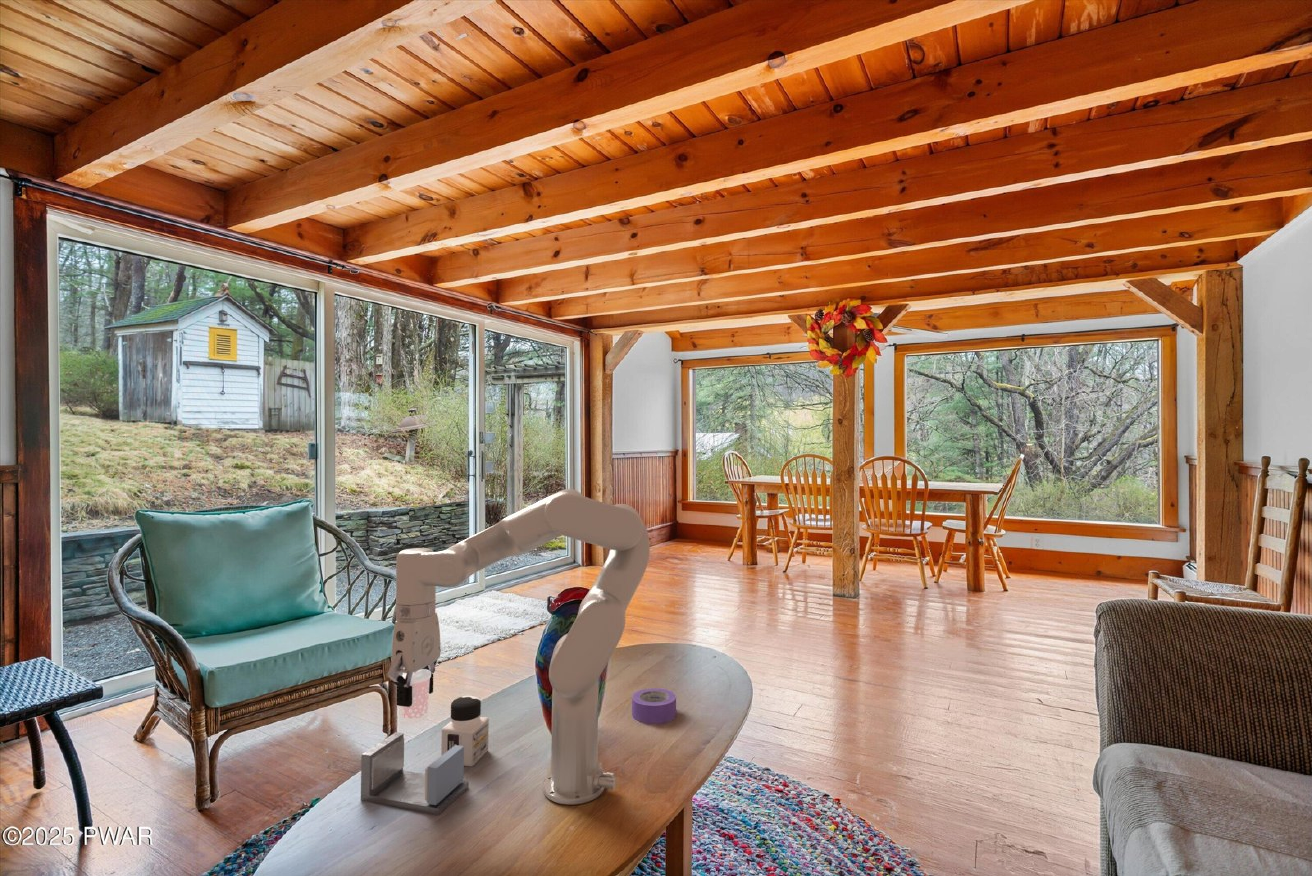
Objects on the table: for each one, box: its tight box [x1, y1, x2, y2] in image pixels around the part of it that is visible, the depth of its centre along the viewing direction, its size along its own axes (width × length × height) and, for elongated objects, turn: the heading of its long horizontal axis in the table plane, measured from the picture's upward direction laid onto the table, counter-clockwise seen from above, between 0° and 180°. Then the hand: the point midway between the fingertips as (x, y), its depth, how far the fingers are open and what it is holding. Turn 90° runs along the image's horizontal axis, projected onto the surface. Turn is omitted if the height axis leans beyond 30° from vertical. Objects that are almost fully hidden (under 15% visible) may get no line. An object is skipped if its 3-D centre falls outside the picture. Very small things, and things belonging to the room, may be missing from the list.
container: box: [440, 695, 490, 767], centre depth 139 cm, size 8×8×13 cm
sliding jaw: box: [424, 745, 465, 805], centre depth 122 cm, size 2×9×7 cm, turn 164°
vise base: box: [360, 731, 470, 816], centre depth 124 cm, size 18×10×9 cm, turn 74°
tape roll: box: [631, 687, 677, 726], centre depth 162 cm, size 12×12×5 cm
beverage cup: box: [401, 669, 431, 725], centre depth 124 cm, size 6×6×14 cm
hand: (415, 698), depth 124 cm, fingers closed on beverage cup, 6 cm apart
